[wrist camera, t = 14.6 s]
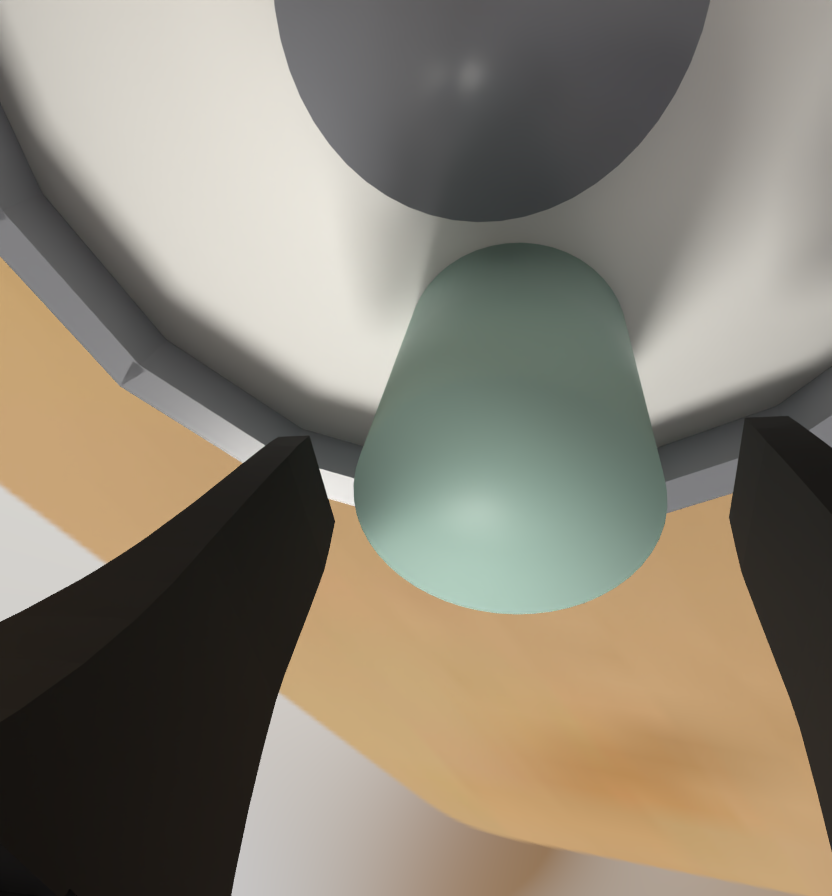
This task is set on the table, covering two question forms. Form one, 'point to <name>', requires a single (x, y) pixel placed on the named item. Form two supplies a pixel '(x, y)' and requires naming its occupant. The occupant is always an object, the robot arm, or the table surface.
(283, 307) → the groove tray
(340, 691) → the table surface
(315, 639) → the table surface
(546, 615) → the table surface
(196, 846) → the robot arm
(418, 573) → the mint green cylinder
